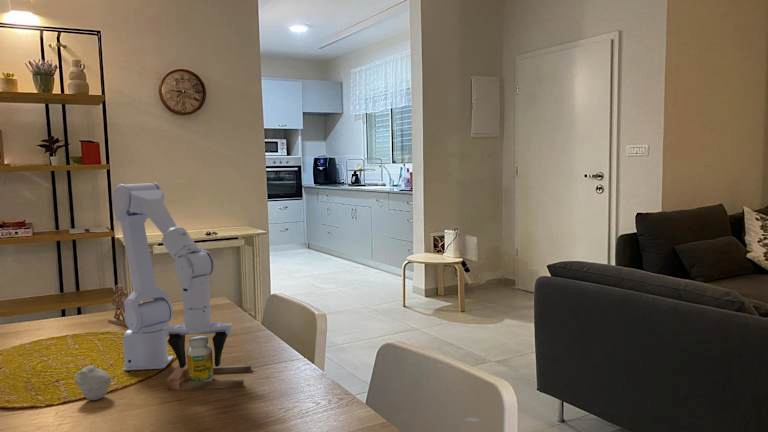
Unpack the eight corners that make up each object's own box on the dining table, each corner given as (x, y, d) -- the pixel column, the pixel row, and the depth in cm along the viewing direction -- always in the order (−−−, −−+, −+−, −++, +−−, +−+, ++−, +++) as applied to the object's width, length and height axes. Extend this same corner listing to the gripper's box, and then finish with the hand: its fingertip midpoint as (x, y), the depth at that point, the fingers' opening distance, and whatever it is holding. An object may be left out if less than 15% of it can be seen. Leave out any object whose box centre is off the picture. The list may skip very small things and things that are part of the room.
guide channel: (167, 390, 124) (166, 379, 124) (181, 372, 134) (181, 362, 134) (242, 386, 125) (242, 375, 124) (251, 369, 135) (250, 359, 135)
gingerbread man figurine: (107, 322, 180) (104, 284, 179) (119, 319, 183) (116, 282, 182) (123, 326, 175) (121, 287, 174) (135, 322, 178) (132, 284, 177)
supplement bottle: (210, 374, 133) (207, 333, 132) (216, 381, 128) (214, 339, 127) (186, 379, 130) (183, 337, 129) (191, 386, 126) (189, 343, 125)
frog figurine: (86, 393, 123) (84, 361, 123) (118, 393, 123) (116, 361, 122) (70, 405, 117) (67, 372, 117) (104, 405, 117) (101, 371, 116)
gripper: (157, 312, 123) (161, 373, 125) (226, 309, 124) (229, 370, 125) (168, 304, 130) (171, 362, 132) (232, 301, 131) (235, 359, 132)
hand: (200, 365), depth 129 cm, fingers open, 7 cm apart
